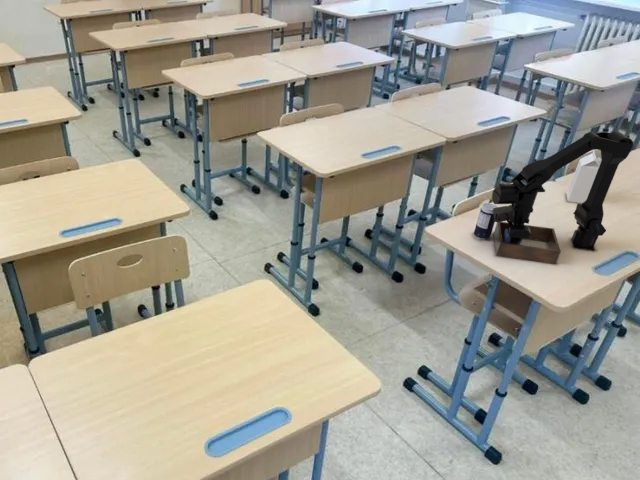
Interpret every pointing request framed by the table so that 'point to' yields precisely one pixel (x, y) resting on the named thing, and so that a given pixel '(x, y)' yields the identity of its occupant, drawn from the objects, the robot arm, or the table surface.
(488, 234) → the beverage can
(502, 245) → the wooden tray
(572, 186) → the milk carton
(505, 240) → the block
